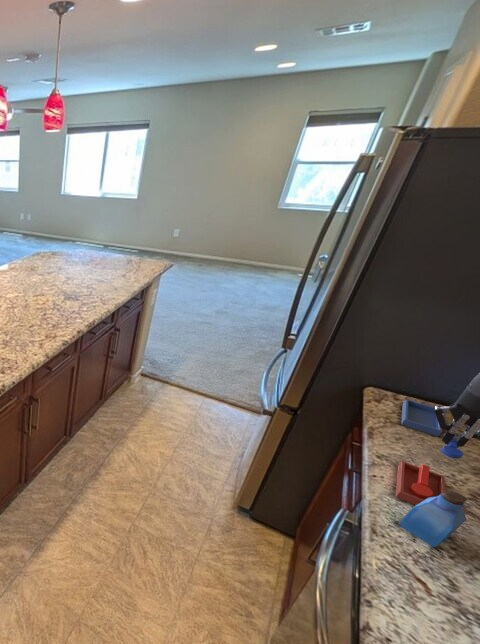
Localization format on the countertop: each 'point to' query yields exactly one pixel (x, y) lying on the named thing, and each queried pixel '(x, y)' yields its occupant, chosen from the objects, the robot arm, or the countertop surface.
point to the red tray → (409, 476)
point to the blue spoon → (452, 449)
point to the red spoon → (422, 483)
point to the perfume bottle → (436, 517)
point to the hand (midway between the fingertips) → (450, 443)
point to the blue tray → (420, 417)
